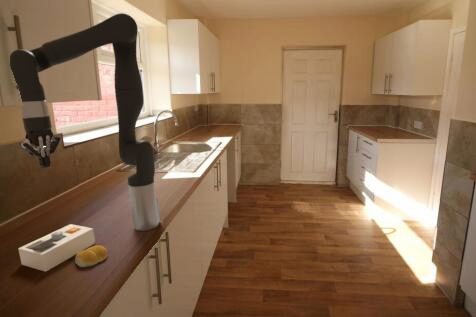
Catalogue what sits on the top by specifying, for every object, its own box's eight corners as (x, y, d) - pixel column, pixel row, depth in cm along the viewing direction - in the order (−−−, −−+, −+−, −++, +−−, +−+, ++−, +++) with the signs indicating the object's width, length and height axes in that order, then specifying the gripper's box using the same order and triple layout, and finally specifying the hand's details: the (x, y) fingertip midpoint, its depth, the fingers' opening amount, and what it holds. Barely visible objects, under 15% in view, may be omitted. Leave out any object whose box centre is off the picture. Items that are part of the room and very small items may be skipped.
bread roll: (112, 256, 98) (111, 245, 97) (85, 270, 91) (83, 258, 90) (98, 249, 102) (96, 238, 101) (71, 262, 95) (69, 250, 94)
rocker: (42, 246, 98) (40, 242, 98) (54, 241, 95) (52, 237, 95) (29, 252, 94) (27, 248, 94) (41, 247, 91) (39, 243, 91)
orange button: (74, 233, 107) (73, 227, 106) (81, 235, 106) (80, 228, 105) (66, 237, 104) (65, 231, 104) (72, 239, 103) (71, 232, 102)
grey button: (59, 237, 102) (58, 230, 101) (66, 238, 101) (64, 232, 100) (50, 241, 99) (48, 235, 98) (57, 243, 98) (55, 236, 97)
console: (73, 238, 111) (70, 224, 110) (95, 243, 107) (92, 228, 105) (21, 264, 95) (18, 248, 94) (45, 271, 91) (42, 254, 89)
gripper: (47, 113, 107) (56, 162, 111) (7, 117, 95) (18, 171, 99) (62, 113, 104) (71, 163, 108) (22, 117, 92) (33, 173, 96)
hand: (45, 167), depth 104 cm, fingers closed
